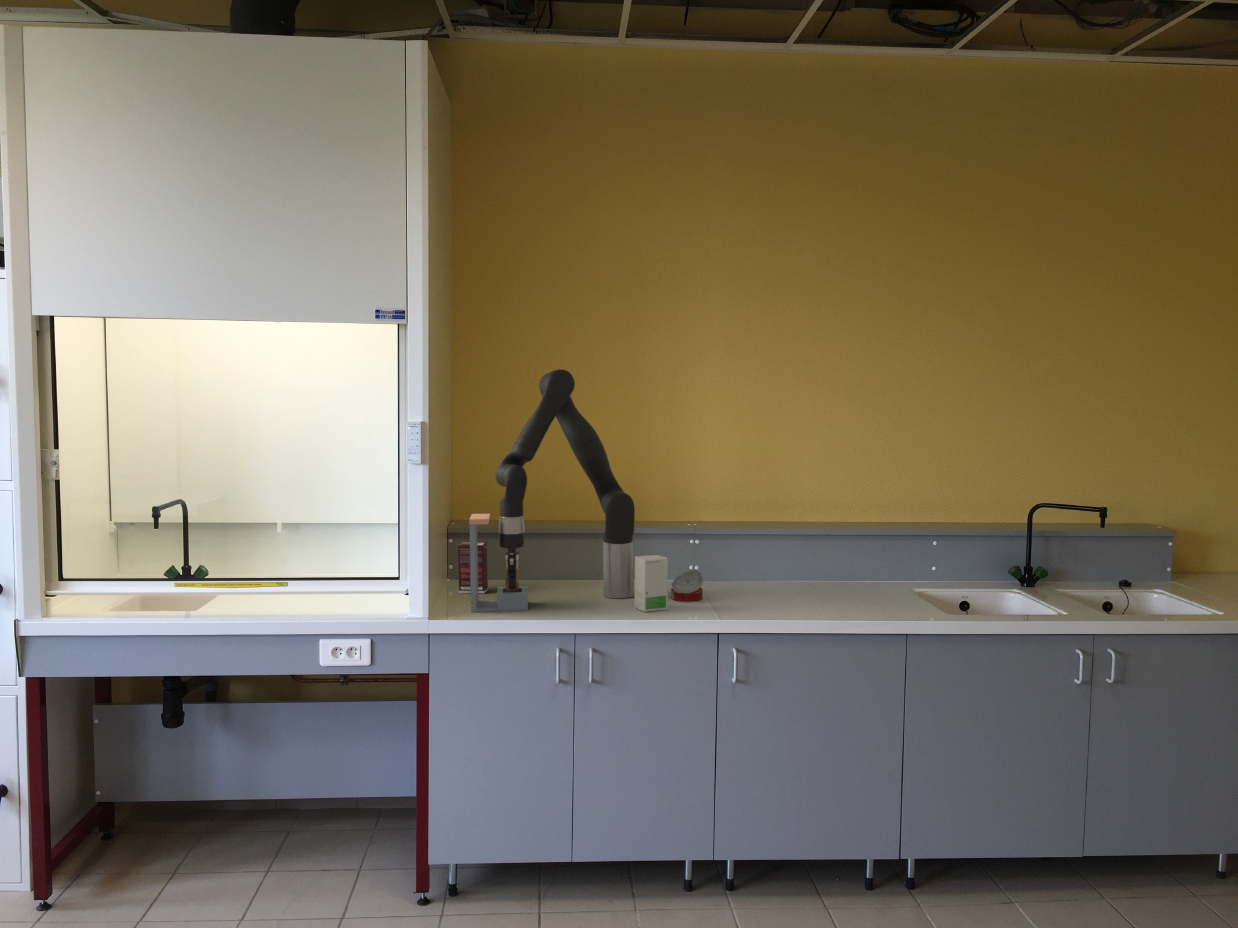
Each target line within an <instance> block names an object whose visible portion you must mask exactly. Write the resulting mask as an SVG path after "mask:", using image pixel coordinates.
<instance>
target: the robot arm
mask: <svg viewBox="0 0 1238 928" xmlns="http://www.w3.org/2000/svg"><path fill="white" fill-rule="evenodd" d="M575 384H576V382H575V379H574V376H573V374H571V372H570V371H568V370H566V369H553V370H552V371H549V372H547V373H545V374H544V375H542V376H541V378H540V379H539V384H538V388H539V392H540V395H541V400H540V401H539V404H537V407H536V409H535V410H534V412H533V413H532V415H531V416H530V417H529V419H528V420H527V421H526V422H525V424H524V425H523V427H522V428H521V430H520V431H519V434H518V435H517V438H516V440H515V441H514V443H513V446H512V448H511V449H510V450H509V451H508V452H507V454H506V455H505V456H504V458H503V459H501V461H500V463H499V465H498V466H497V468H496V471H495V481H496V483H497V484H498V485H499V486H501V487H504V488H505V490H504V491H505V492H504V495H503V496H502V497H501V498H500V499H499V519H498V532H499V533H498V540H499V541H498V545H499V547H500V548H503V549H507V551H505V562H506V568H507V569H508V573H507V575H508V581H509V589H510V590H511V589H516V576H517V573H516V569H517V568H518V561H519V558H520V557H519V556H520V554H519V553H520V552H519V551H517V549H518V548H519V549H521V548H523V547H524V546H525V519H524V518H525V517H524V499H525V496H526V490H527V485H528V476H527V471H526V470H525V469H524V466H525V465H526V463H529V462H531V461H532V460H534V457H535V456H536V454H537V451H539V448H540V446H541V444H542V443H543V440H544V438H545V436H546V434H547V432H548V430H549V429H550V426H551V425H552V423H553V421H554V419H556V420H557V422H558V424H559V426H560V428H561V430H562V432H563V435H564V436H565V439H566V440H567V442H568V444H569V446H570V448H571V450H572V452H573V454H574V456H575V457H576V460H577V461H578V463H579V465H580V466H581V468H582V470H583V471H584V474H585V475H586V476H587V478H588V480H589V481H590V482H591V484H592V486H593V488H594V492H595V494H596V496H597V498H598V501H599V504H600V506H601V509H602V512H603V513H604V514H605V515H604V516H605V521H604V522H605V524H604V525H605V526H604V527H605V528H604V532H603V537H602V538H603V539H602V540H603V544H602V545H603V547H602V549H603V550H602V551H603V554H602V555H603V565H602V566H603V568H602V569H603V589H602V590H603V596H604V597H606V598H611V599H626V598H632V597H634V598H635V566H633V563H634V562H633V559H634V558H633V551H634V549H633V545H634V544H633V540H634V539H633V536H634V533H635V503H634V499H633V498H632V497H631V496H630V495H629V494H628V493H626V492H625V491H624V490H623V489H622V487H621V486H620V483H619V482H618V480H617V479H616V477H615V476H614V474H613V471H612V469H611V465H610V461H609V459H608V455H607V451H606V450H605V447H604V445H603V443H602V440H601V438H600V436H599V435H598V433H597V431H596V429H594V427H593V426H592V424H590V422H589V421H588V420H587V419H586V418H585V417H584V416H583V415H582V414H581V413H580V412H579V410H578V408H577V407H576V404H574V401H573V399H572V396H571V395H572V393H573V392H574V390H575ZM510 570H514V572H510Z"/></svg>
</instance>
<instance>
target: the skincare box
mask: <svg viewBox="0 0 1238 928" xmlns="http://www.w3.org/2000/svg"><path fill="white" fill-rule="evenodd" d="M668 562H669V558H668V557H666V556H662V555H659V554H656V555H655V554H654V555H641V556H639V555H637V556H634V608H635V609H636V610H639V611H641V612H642V613H643V612H644V613H648V612H655V611H657V612H658V611H663V610H664V611H666V610H668V587H669V586H668V583H669V582H668V579H669V578H668V576H669V575H668V572H669V569H668V568H669V566H668V564H669V563H668Z"/></svg>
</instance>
